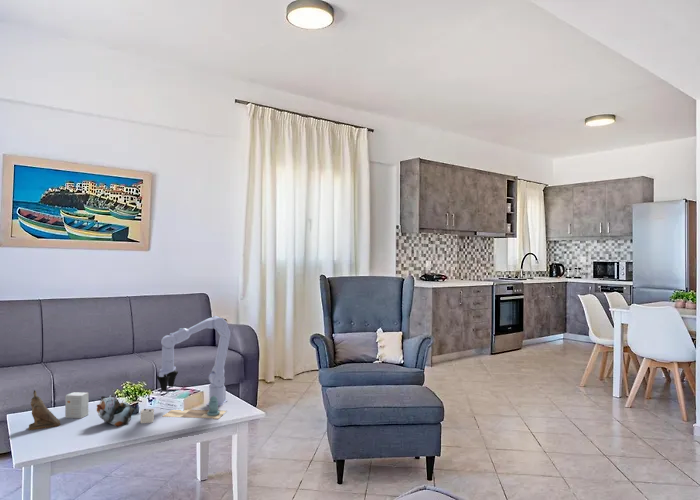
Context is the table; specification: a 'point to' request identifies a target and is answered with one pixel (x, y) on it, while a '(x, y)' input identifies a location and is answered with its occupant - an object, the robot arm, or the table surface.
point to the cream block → (147, 415)
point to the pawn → (213, 407)
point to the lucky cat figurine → (114, 411)
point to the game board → (192, 414)
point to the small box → (76, 405)
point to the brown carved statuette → (41, 415)
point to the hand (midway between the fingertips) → (167, 388)
